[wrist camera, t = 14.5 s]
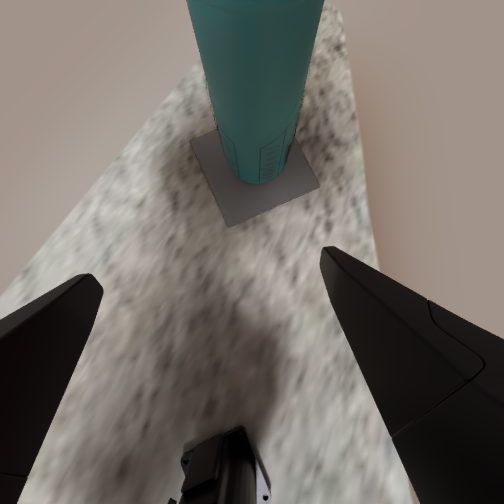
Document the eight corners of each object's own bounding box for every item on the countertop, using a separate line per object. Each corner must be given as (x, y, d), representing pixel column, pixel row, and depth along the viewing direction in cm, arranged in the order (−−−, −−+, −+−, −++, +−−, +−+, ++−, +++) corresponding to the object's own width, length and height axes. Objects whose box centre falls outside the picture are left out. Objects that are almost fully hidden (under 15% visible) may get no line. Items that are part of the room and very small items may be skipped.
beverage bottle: (288, 190, 22) (553, -533, 2) (227, 194, 22) (-1, -478, 2) (283, 135, 23) (452, -730, 3) (225, 139, 23) (44, -684, 3)
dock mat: (319, 187, 23) (320, 185, 22) (228, 227, 22) (227, 226, 22) (276, 106, 24) (277, 103, 24) (190, 143, 24) (189, 140, 23)
